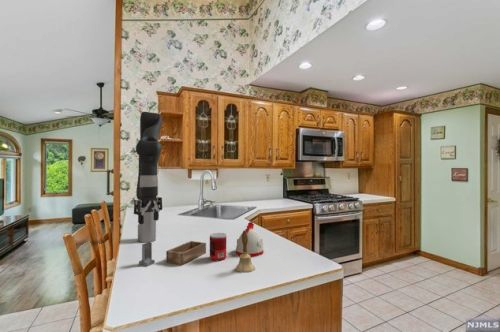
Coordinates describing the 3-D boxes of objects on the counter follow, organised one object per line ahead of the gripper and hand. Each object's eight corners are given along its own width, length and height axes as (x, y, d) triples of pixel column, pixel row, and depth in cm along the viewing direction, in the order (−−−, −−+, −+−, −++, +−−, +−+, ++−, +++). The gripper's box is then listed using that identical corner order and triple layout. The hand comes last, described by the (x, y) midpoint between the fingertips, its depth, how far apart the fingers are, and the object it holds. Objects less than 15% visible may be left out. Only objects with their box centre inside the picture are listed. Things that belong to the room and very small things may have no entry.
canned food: (229, 256, 121) (228, 233, 122) (221, 262, 114) (221, 237, 114) (214, 254, 124) (214, 232, 124) (206, 260, 116) (206, 236, 116)
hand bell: (248, 274, 101) (248, 233, 101) (231, 269, 105) (231, 231, 105) (258, 267, 108) (258, 229, 108) (242, 263, 112) (242, 227, 112)
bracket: (139, 264, 111) (139, 244, 111) (146, 261, 115) (146, 241, 115) (147, 266, 109) (147, 245, 109) (154, 263, 113) (154, 243, 113)
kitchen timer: (267, 250, 131) (267, 221, 131) (257, 258, 118) (256, 226, 119) (243, 246, 137) (243, 219, 137) (230, 254, 124) (230, 224, 124)
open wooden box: (166, 262, 114) (166, 251, 114) (191, 250, 130) (191, 240, 130) (182, 265, 110) (182, 253, 110) (205, 253, 126) (205, 242, 126)
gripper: (154, 184, 121) (154, 218, 120) (129, 186, 108) (129, 224, 107) (166, 184, 118) (166, 219, 117) (142, 186, 105) (142, 226, 104)
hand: (148, 222), depth 112 cm, fingers open, 8 cm apart
